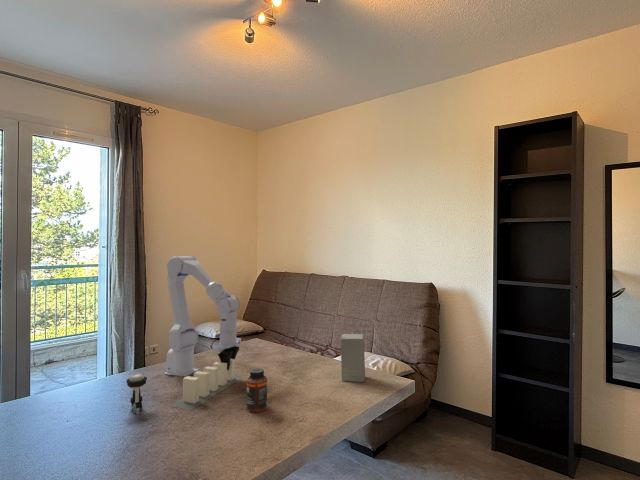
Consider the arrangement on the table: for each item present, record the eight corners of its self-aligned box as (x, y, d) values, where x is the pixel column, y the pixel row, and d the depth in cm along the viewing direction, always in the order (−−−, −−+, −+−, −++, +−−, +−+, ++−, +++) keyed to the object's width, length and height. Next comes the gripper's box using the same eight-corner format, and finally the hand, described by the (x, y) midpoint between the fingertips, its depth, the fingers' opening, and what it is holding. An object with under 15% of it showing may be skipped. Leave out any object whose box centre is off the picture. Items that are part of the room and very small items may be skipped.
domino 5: (220, 379, 130) (221, 359, 130) (224, 377, 132) (224, 357, 132) (231, 380, 128) (231, 360, 128) (234, 378, 130) (234, 359, 130)
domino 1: (182, 401, 111) (183, 378, 111) (187, 398, 113) (187, 376, 113) (194, 403, 109) (195, 380, 109) (199, 400, 111) (199, 377, 111)
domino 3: (203, 389, 120) (203, 368, 120) (207, 387, 122) (207, 366, 122) (214, 391, 119) (214, 369, 119) (218, 388, 121) (218, 367, 121)
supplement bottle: (270, 406, 109) (270, 368, 109) (261, 414, 103) (261, 374, 104) (253, 403, 111) (253, 365, 111) (242, 411, 105) (243, 372, 105)
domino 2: (193, 395, 116) (193, 373, 116) (197, 392, 117) (197, 371, 118) (205, 397, 114) (205, 374, 114) (209, 394, 116) (209, 372, 116)
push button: (148, 413, 104) (148, 378, 104) (126, 418, 101) (127, 381, 101) (145, 404, 109) (145, 371, 110) (125, 408, 107) (125, 374, 107)
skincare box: (365, 376, 134) (365, 333, 135) (364, 383, 127) (364, 338, 128) (342, 375, 136) (342, 332, 136) (340, 382, 129) (340, 337, 129)
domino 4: (212, 384, 125) (212, 363, 125) (215, 382, 127) (216, 361, 127) (223, 385, 124) (223, 364, 124) (226, 383, 125) (227, 363, 126)
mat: (168, 407, 108) (168, 406, 108) (226, 374, 136) (226, 373, 136) (191, 411, 105) (191, 410, 105) (244, 376, 133) (244, 375, 133)
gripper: (226, 336, 122) (226, 376, 122) (248, 327, 136) (248, 363, 136) (208, 334, 124) (208, 374, 124) (232, 325, 138) (231, 361, 138)
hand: (227, 368), depth 130 cm, fingers closed on domino 5, 2 cm apart
